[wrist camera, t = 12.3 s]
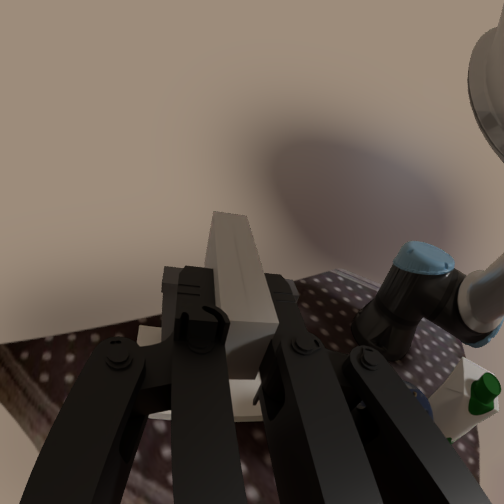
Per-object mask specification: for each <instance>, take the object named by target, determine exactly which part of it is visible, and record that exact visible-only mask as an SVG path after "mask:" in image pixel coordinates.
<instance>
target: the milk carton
mask: <svg viewBox="0 0 504 504" xmlns="http://www.w3.org/2000/svg"><path fill="white" fill-rule="evenodd" d="M500 392H501V385H500V383H499V381H498V379H497V378H496V377H495V374H493V373H491V372H490V371H488V370H486V369H484V368H483V367H481V366H479V365H477V364H475V363H474V362H472V361H470V360H468V359H466V358H465V357H462V358H461V360H460V361H459V363H458V364H457V366H456V367H455V369H454V370H453V371H452V373H451V374H450V376H449V377H448V378H447V380H446V381H445V382H444V383H443V384H442V385H441V386H440V387H439V388H438V390H437V391H436V392H435V393H434V394H433V395H431V396H430V397H429V398H428V401H429V403H430V405H431V408H432V411H433V418H434V422H435V424H436V425H437V426H438V428H439V429H440V430H441V432H442V433H443V434H444V436H445V437H446V438H447V440H448V441H449V443H450V444H452V443H454V442H455V441H456V440H458V439H459V438H460V437H462V436H463V435H464V434H465V433H467V432H468V431H469V430H471V429H472V428H473V427H474V426H476V425H477V424H478V423H480V422H482V421H484V420H485V419H487V418H488V417H490V416H492V415H494V414H495V413H497V412H498V411H499V405H498V395H499V394H500Z"/></svg>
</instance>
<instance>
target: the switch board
mask: <svg viewBox="0 0 504 504" xmlns="http://www.w3.org/2000/svg"><path fill="white" fill-rule="evenodd" d="M161 329H162V328H160V327H151V326H143V325H140V326H139V331H138V337H137V343H138V345H139V346H140V347H141V346H148V345H153V344H157V343H160V342H161ZM229 384H230V392H231V399H232V407H233V414H234V422H251V421H263V417H262V412H261V407H260V401H258V402H257V404H256V405H253V399H254V397H255V395H256V393H257V391H258V388H259V386H260V384H261V377H260V372H258V374H257V376H256V379H255V380H232V379H229ZM148 418H154V419H164V420H171V410H168V411H164V412H159V413H154V414H149V416H148Z"/></svg>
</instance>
